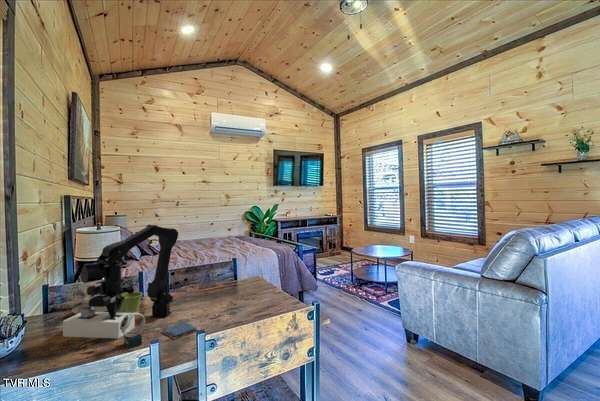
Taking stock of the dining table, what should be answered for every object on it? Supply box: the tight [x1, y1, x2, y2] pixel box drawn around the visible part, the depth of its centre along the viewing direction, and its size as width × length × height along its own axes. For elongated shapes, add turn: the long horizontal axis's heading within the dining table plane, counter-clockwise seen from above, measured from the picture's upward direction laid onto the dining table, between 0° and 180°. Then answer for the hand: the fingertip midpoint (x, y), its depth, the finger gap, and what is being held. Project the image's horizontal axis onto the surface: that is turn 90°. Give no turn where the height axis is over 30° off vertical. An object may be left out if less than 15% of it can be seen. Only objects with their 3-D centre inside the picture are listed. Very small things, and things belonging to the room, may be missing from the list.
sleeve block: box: [62, 311, 136, 340], centre depth 121 cm, size 22×10×6 cm, turn 87°
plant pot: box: [121, 291, 143, 313], centre depth 141 cm, size 9×9×9 cm
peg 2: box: [105, 315, 119, 320], centre depth 121 cm, size 5×5×6 cm
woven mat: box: [161, 321, 199, 340], centre depth 122 cm, size 10×11×2 cm
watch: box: [120, 312, 146, 350], centre depth 111 cm, size 6×8×11 cm
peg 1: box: [81, 305, 95, 319], centre depth 122 cm, size 5×5×6 cm
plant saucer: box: [71, 301, 122, 316], centre depth 143 cm, size 21×21×3 cm
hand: (112, 317), depth 121 cm, fingers closed, pressing on peg 2
